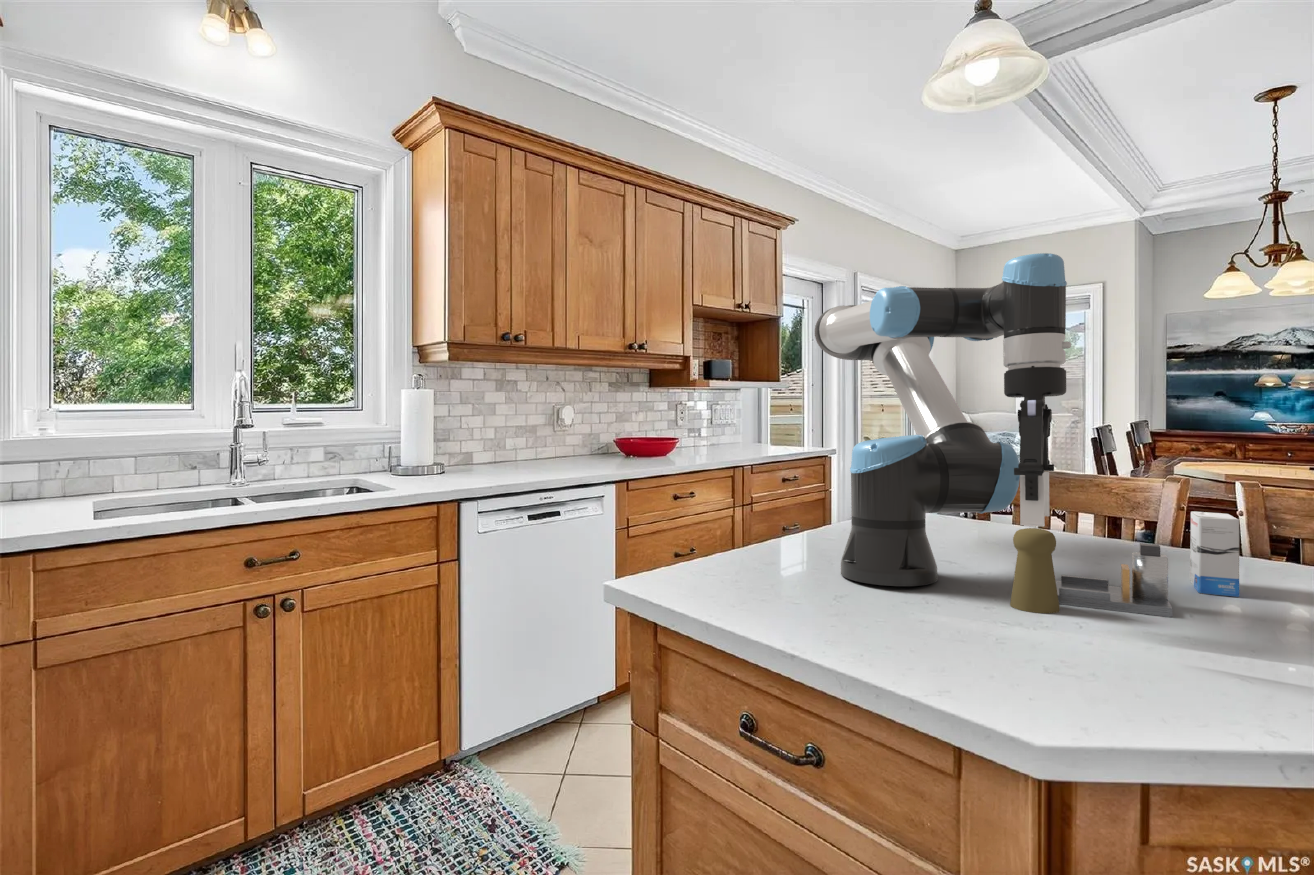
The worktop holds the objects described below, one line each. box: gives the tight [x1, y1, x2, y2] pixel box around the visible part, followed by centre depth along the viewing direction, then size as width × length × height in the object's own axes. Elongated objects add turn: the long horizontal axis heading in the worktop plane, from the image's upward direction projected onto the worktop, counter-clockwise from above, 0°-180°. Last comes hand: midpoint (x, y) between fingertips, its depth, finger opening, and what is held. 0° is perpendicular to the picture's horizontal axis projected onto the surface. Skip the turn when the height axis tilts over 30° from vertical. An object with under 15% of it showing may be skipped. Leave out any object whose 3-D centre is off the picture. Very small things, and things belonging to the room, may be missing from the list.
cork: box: [1009, 527, 1061, 614], centre depth 91 cm, size 6×6×11 cm
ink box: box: [1189, 510, 1240, 598], centre depth 101 cm, size 8×5×12 cm, turn 148°
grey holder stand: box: [1055, 542, 1173, 618], centre depth 95 cm, size 15×11×9 cm
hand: (1035, 520), depth 91 cm, fingers open, 13 cm apart
